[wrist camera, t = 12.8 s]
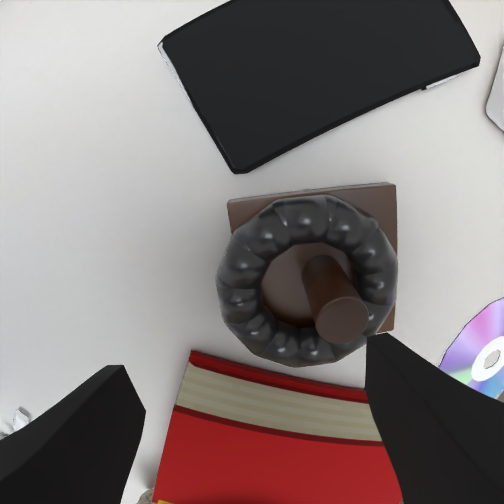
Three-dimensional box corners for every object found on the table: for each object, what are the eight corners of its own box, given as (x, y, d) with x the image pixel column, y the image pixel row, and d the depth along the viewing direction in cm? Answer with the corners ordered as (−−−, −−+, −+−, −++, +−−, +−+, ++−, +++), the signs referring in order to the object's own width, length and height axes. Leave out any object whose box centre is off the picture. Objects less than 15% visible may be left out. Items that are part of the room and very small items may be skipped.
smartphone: (152, 40, 12) (408, -54, 9) (160, 47, 13) (401, -45, 10) (237, 182, 14) (485, 66, 11) (239, 179, 15) (474, 69, 12)
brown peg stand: (251, 341, 18) (248, 410, 13) (228, 199, 15) (212, 227, 10) (388, 321, 17) (425, 380, 12) (388, 182, 15) (444, 201, 10)
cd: (483, 278, 16) (483, 278, 16) (407, 411, 20) (407, 411, 20) (555, 307, 17) (554, 306, 17) (492, 411, 20) (492, 411, 20)
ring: (234, 358, 17) (231, 381, 15) (207, 204, 14) (199, 213, 12) (384, 338, 16) (395, 359, 15) (387, 186, 14) (405, 192, 12)
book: (163, 459, 22) (150, 505, 17) (191, 350, 18) (173, 410, 13) (356, 487, 23) (364, 528, 18) (436, 399, 19) (461, 445, 14)
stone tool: (117, 524, 15) (127, 493, 23) (123, 533, 14) (131, 500, 23) (174, 505, 17) (168, 478, 25) (180, 514, 17) (172, 485, 25)
